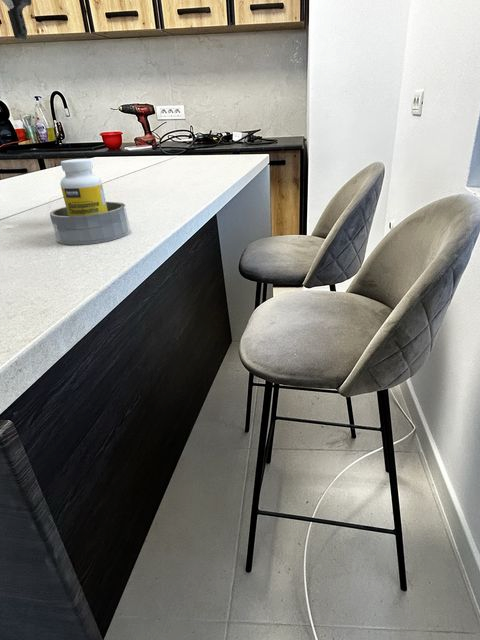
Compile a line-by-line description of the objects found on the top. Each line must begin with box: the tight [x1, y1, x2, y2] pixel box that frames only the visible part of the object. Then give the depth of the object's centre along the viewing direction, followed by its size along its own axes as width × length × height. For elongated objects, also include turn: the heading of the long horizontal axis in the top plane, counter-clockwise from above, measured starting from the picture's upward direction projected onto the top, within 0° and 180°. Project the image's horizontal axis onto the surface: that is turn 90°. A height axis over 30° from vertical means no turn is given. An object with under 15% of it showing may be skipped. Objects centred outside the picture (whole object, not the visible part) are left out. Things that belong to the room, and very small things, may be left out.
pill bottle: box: [59, 158, 108, 216], centre depth 72 cm, size 6×6×12 cm
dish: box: [49, 201, 131, 246], centre depth 74 cm, size 12×12×4 cm
